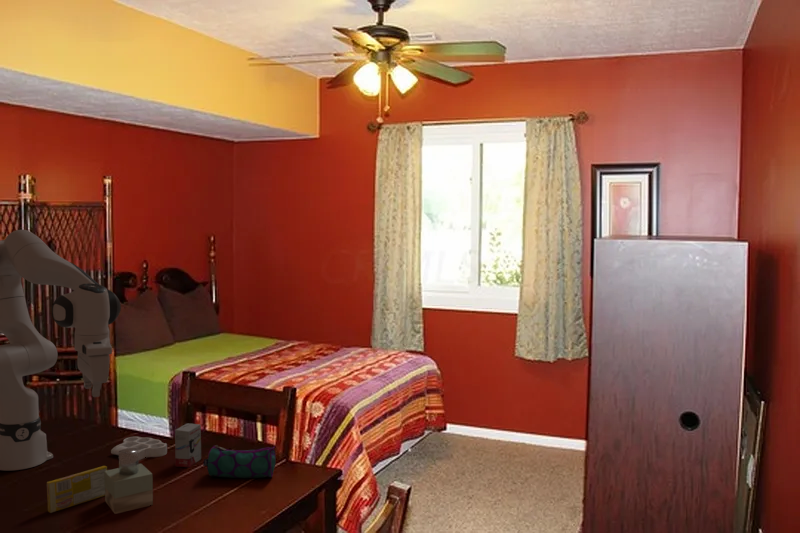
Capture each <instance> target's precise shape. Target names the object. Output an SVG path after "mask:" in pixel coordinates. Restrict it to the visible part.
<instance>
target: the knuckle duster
mask: <svg viewBox="0 0 800 533" xmlns="http://www.w3.org/2000/svg"><path fill="white" fill-rule="evenodd" d="M126 448H136V449H138V461H141V460H143V459H145V457H146V458H159V457H163V456H165V455H167V453H168V444H167V443H166V442H165V443H164V442H162V440H160V439H155V438H153V437H141V436H130V437H126V438H124V439H123V441H122V443H120V444H117V445H116V446H114V447H113V448H112V449H111V450H110V453H111V454H112V455H115V456H119V451H120V450H122V449H126Z"/></svg>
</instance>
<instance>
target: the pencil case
mask: <svg viewBox="0 0 800 533" xmlns="http://www.w3.org/2000/svg"><path fill="white" fill-rule="evenodd" d="M275 449H276V446H272V447H269V446H267V447H262V448H257V449H248V450H247V449H240V450H239V449H238V450H237V449H235V450H234V449H228V448H224V447H221V446H219V445H218V444H216V445H213V446H212V447H210V449H209V451H208V454H207V458H204V459H203V463H202V464H203V465H202V466H203V467H207V468H206V470H207V473H208V475H209V476H210V477H218V478H228V479H229V478H230V479H259V478H262V479H263V478H266V477H267V478H273V475H274V471H275V468H276V462H277V461H276V459H277V457H276V450H275Z"/></svg>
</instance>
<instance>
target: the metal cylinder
mask: <svg viewBox="0 0 800 533" xmlns="http://www.w3.org/2000/svg"><path fill="white" fill-rule="evenodd" d="M139 464H140V462H139V460H138V449H136V448H126V449H122V450H120V451H119V455H118V468H119V474H120V475H123V476H128V475H134V474H136V473H138V472H139Z"/></svg>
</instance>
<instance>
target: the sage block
mask: <svg viewBox="0 0 800 533" xmlns="http://www.w3.org/2000/svg"><path fill="white" fill-rule="evenodd" d="M153 478H154V477H153V473H152V472H151V471H150V470H149V469H148V468H147V467H146V466H145V465H143V463H139V472H138V473H136V474H134V475H128V476H123V475H120V474H119V467H117V468H113V469H107V471H104V483H105V488H106V489H107V490H108V491H109V493H110V494H111V495H112V496H113V497H114V498H119V497H124V496H128V495H132V494H137V493H141V492H146V491H150V490H154V488H153V487H154V484H153V483H154V482H153V481H154V480H153Z"/></svg>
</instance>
